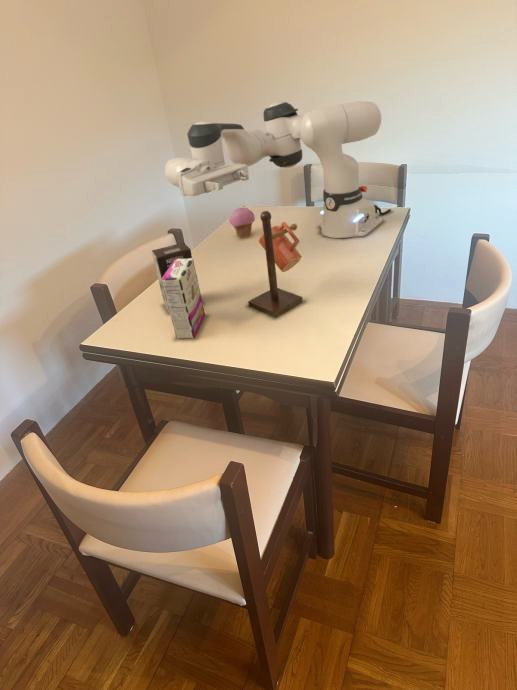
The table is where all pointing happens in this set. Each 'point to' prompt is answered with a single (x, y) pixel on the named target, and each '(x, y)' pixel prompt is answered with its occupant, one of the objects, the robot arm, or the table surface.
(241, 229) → the cupcake
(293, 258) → the mug
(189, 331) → the candy bar box
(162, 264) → the coffee box
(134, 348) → the table surface
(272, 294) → the mug stand
